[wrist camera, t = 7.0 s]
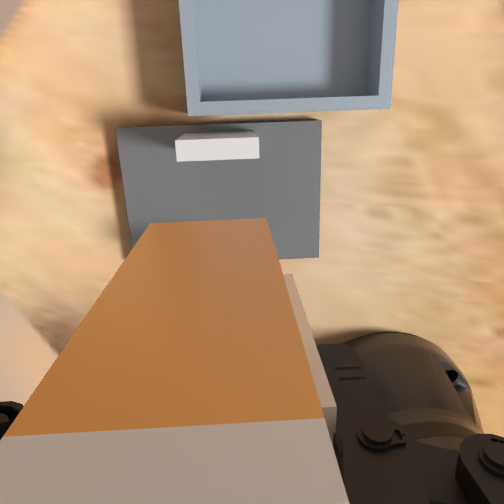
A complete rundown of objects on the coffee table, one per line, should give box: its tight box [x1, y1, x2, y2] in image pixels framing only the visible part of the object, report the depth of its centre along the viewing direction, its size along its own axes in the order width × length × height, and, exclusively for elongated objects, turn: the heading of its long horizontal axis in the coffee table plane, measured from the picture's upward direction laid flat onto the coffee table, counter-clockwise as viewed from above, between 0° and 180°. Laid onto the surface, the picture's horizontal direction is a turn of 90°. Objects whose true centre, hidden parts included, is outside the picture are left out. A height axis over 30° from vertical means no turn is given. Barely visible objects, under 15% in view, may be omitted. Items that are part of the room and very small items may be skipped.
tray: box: [179, 0, 398, 116], centre depth 26 cm, size 11×13×4 cm
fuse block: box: [115, 120, 322, 259], centre depth 28 cm, size 10×14×6 cm
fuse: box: [0, 218, 349, 504], centre depth 10 cm, size 6×4×11 cm, turn 2°
